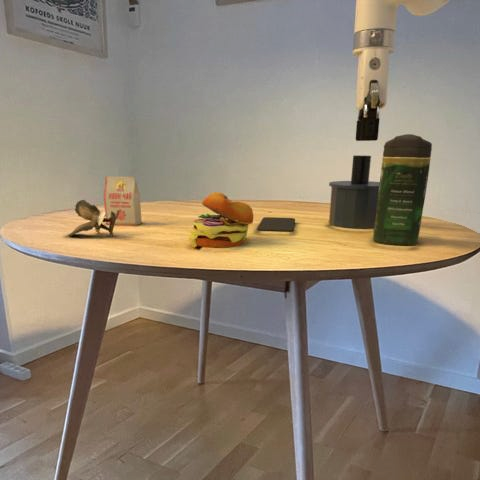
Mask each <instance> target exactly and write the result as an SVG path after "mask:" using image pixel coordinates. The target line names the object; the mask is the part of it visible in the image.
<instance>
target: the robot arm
mask: <svg viewBox="0 0 480 480" xmlns="http://www.w3.org/2000/svg"><path fill="white" fill-rule="evenodd" d="M450 2H451V0H355V14H354V29H353V33H354V34H353V46H352V55H353V56H356V57H358V63H357V76H356V95H355V96H356V97H355V98H356V102H355V103H356V104H355V105H356V106H355V107H356V109H357V110H358V114H357V120H356V129H355V141H356V142H369V141H370V142H372V141H373V142H374V141H378V140H379V132H380V131H379V130H380V120H381V119H380V110H382V109H384V108H385V107H386V106H387V101H388V100H387V99H388V83H389V82H388V81H389V60H390V59H389V57H390V56H389V55H390V54H393V53H394V48H395V38H396V25H397V16H398V15H397V14H398V7H399V6H404V7H405V8H406V10H407V12H409V13H410V14H411V15H413V16H415V17H424V16H428V15H430V14H433V13H434V12H436V11H438V10H440V9H441V8H443V7H444V6H445V5H446V4H448V3H450Z"/></svg>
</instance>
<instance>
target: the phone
mask: <svg viewBox="0 0 480 480" xmlns="http://www.w3.org/2000/svg"><path fill="white" fill-rule="evenodd" d="M295 225H296V218H295V217H277V216H276V217H275V216H273V217H272V216H265V217H263V218H261V220H260V222H259V224H258V225H257V227H256V231H257V232H275V233H292V232H294V228H295Z"/></svg>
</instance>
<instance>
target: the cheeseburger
mask: <svg viewBox="0 0 480 480" xmlns="http://www.w3.org/2000/svg"><path fill="white" fill-rule="evenodd" d="M201 205H202V206H204V207H205V208H207V209H208V210H210V211H211V212H213V213H215V214H210V213H206V214H201V215H198V216H197V219H193V222H192V225H193V226H192V227H191V228H190V230H189V232H190V234H189V236H188V242H189V243H190V245H191V247H192V248H196V247H197V246H198V247H207V248H232V247H238V246H240V245H242V244H243V242H244V241H245V240H246V238H247V235H248V231H249V230H248V229H249V225H252V224H253V223H254V212H253V211H254V210H253V208H252V207H251V205H250V204H248V203H246V202H241V201H233V200H231V199H230V198H228V196H227V195H225V194H224V193H222V192H217V191H215V192H211V193H210V194H208V195H207V196H206V197H205V198H204V199H203V200H202V202H201Z"/></svg>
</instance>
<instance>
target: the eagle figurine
mask: <svg viewBox="0 0 480 480" xmlns="http://www.w3.org/2000/svg"><path fill="white" fill-rule="evenodd" d="M74 207H75V208H74V211H75V214H77V216H78V217H80V218H82V219H84V220H87V222H85V223H84V222H83V223H81V224H79V225H77V226H76V227H75V228H74V229H73V230H72V232H70V233H69V234H67V236H68V237H72V236H74V235H76V234H79V233H80V232H81V233H82V232H87V231H90V230H93V229H94V230H95V232H96V233H97V234H100V233H101V229H103V230H105V231H107V232H108V233H109V235H110V236H111V237H114V227H115V225H114V224H115V221H116V219H117V217H118V214H119V210H118V211H117V213H116V214H115V213H114V212H112V211H111V217H110V218H109V219H106V211H105V209H104V210H103V211H102V212H101V210H100V209H99V208H98V206H96V205H95V204H91V203H90V202H88V201H87V200H86V199H81V200H78V201H76V204H75V205H74ZM106 222H110V224H109V226H107V225H106V224H103V223H106Z"/></svg>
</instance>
